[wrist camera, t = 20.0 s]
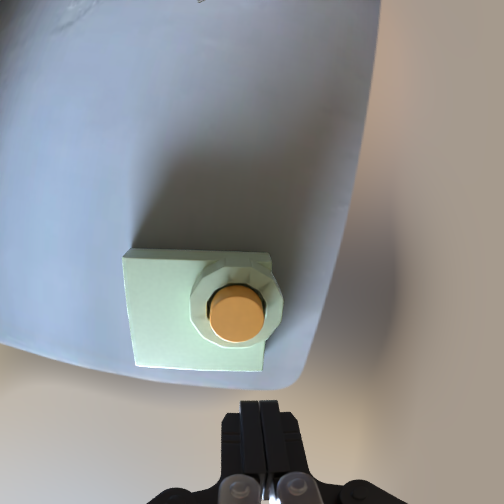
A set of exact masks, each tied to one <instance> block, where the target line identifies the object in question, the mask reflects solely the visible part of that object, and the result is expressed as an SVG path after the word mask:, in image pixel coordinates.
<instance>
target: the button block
mask: <svg viewBox="0 0 504 504" xmlns="http://www.w3.org/2000/svg"><path fill="white" fill-rule="evenodd" d="M122 263H123V274H124V284H125V294H126V302H127V310H128V318H129V325H130V332H131V339H132V345H133V351H134V357H135V363H136V366H146V367H158V368H171V369H188V370H211V371H262V370H263V361H264V351H265V340H266V339H267V338H269V337H270V335H271V334H272V333H273V332H274V330H275V329H276V328H277V326H278V325H279V324H280V323H281V321H282V313H283V304H284V299H283V296H282V293H281V290H280V288H279V286H278V284H277V282H276V280H275V278H274V276H273V274H272V261H271V258H270V255H269V253H268V252H236V251H204V250H172V249H140V248H130V249H129V250H128V251H127V252H126V253H125V255H124V256H123V257H122ZM232 285H242V286H245V287H248V288H250V289H252V290H253V291H254V292H256V293H257V295H258V296H259V298H260V300H261V303H262V307H263V312H264V324H263V327H262V329H261V330H260V332H259V333H258V334H257V335H256V336H255V337H253V338H252V339H250V340H247V341H244V342H229V341H226V340H224V339H222V338H220V337H219V336H218V335H217V334H215V332H214V331H213V329H212V328H211V325H210V308H211V302H212V299H213V298H214V296H215V295H216V293H217V292H218V291H220V290H221V289H223V288H225V287H228V286H232Z"/></svg>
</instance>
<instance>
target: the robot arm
mask: <svg viewBox="0 0 504 504" xmlns="http://www.w3.org/2000/svg"><path fill="white" fill-rule="evenodd" d="M221 429H222V430H221V477H220V479H219V481H218V482H217V483H216V484H215V485H214V486H212V487H211V488H209V489H205V490H202V491H197V492H192V493H191V492H190V491H188V490H186V489H183V488H170V489H166V490H164V491H163V492H161V493H160V494H159V495H157V496H156V497H155V498H153V499H152V500H151V501H150V502H148V503H147V504H261V499H262V496H263V500H270V504H407V503H406V502H404V501H402V500H400V499H398V498H396V497H394V496H393V495H391V494H389V493H387V492H386V491H384V490H382V489H380V488H378V487H377V486H375V485H373V484H372V483H370V482H368V481H365V480H352V481H349V482H348V483H346V484H345V485H344V486H342V485H333V484H326V483H323V482H320V481H318V480H317V479H315V478H314V477H313V476H312V475H311V473H310V471H309V468H308V464H307V460H306V455H305V451H304V447H303V442H302V438H301V434H300V430H299V425H298V421H297V419H296V418H295V417H294V416H293V415H292V413H291V412H280V411H279V405H278V401H277V400H266V401H265V400H264V401H263V400H261V401H259V403H258V401H240V407H239V413H227V414H226V415H225V417H224V419H223V421H222V428H221Z"/></svg>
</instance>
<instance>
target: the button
mask: <svg viewBox="0 0 504 504" xmlns="http://www.w3.org/2000/svg"><path fill="white" fill-rule="evenodd" d="M263 324H264V312H263V307H262V303H261V300H260V298H259V296H258V295H257V293H256V292H254V291H253V290H252V289H250V288H248V287H245V286H242V285H232V286H228V287H225V288H223V289H221V290H220V291H218V292H217V293H216V295H215V296H214V298H213V299H212V302H211V308H210V325H211V328H212V329H213V331H214V332H215V334H217V335H218V336H219V337H220V338H222V339H224V340H226V341H229V342H244V341H247V340H250V339H252V338H253V337H255V336H256V335H257V334H258V333H259V332H260V330H261V329H262V327H263Z"/></svg>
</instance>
